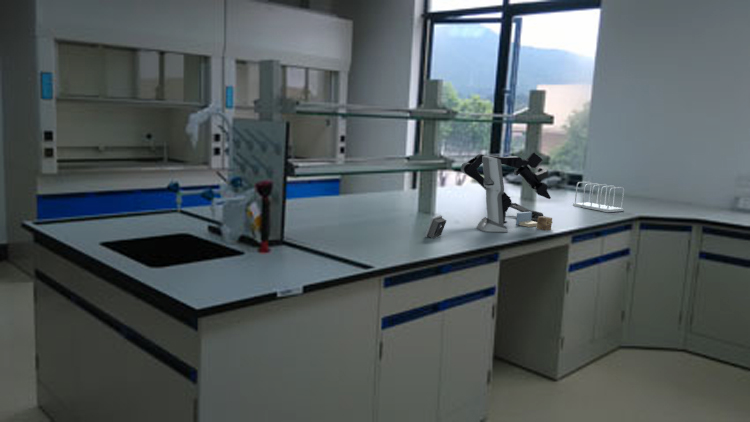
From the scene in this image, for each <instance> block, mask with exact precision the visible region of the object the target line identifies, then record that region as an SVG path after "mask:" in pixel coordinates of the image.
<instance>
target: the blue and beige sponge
mask: <svg viewBox="0 0 750 422" xmlns="http://www.w3.org/2000/svg"><path fill="white" fill-rule="evenodd" d="M531 217H532V212H516V221H515V225H516V226H523V227H527V228H531V227H537V222H534V221H531Z"/></svg>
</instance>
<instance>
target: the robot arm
mask: <svg viewBox="0 0 750 422" xmlns="http://www.w3.org/2000/svg"><path fill="white" fill-rule="evenodd" d="M482 156H489V157H493V158H497V159H500V160H501V165H505V166H507V167H511V168H514V173H513V175H514V176H519V175H520V178H522V179H523V180H524V181H525V182H526V184H527V185H528V186H529V187H530V188H531V189H532V190H534V192H535V193H536V194H537V195H538V196H541V197H543V198H545V199H549V200H550V199H552V198H551V196H550V194H549V192H548V189H549V186H548V185H547V184H546V183H545V182H543V180H544V179H546V178H549V177H550V174H549V171H548V170H547V168H542V167H538V166H539V165H541V163H542V162H543V159H542V157H540V156H539V155H538V154H537V153H535V152H533V151H532V152H531V153H530V154H529V155H528V157H526V158H522V157H521V156H515V155H511V156H510V155H509V156H496V155H487V154H483V153H479V154H476V155H475V157H473V158H471V159H469V160H468V161H466V162H462V164H461V166H460V171H461V173H463V174H465V175H466V176H467V177H469V178H471V179H473V180H474V182H476V183H477V184H478V185H480V187H482V188H483V189H484V190H485V191H486V187H484V183H483V182H484V176H483V175H482V174H481V173H480V172H479V171H478V168H479V167H480V166H481V165H483V161H482ZM537 167H538V168H537ZM536 168H537V171H536V172H534V171H532V170H531V169H536ZM512 203H513V202H512V199H511V196H508V194H507V193H506V192H505V191H504V193H503V194H502V210H503V224H506V223H508V221H507V220H506V215H507V212H508V210H509V208H511V207H510V206H511V204H512Z"/></svg>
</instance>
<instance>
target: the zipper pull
mask: <svg viewBox="0 0 750 422" xmlns="http://www.w3.org/2000/svg"><path fill="white" fill-rule="evenodd" d="M509 208H510V209H514V210H516V211H518V212H519V213H521V212H532V217H531V221H534V222H537V220H538V217H540V216H544V213H543V212H539V211H537V210H531V209H528V208H526V207H525V206H523V205H520V204H518V203H516V202H512V204H511V206H510V207H509Z"/></svg>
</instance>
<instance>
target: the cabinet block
mask: <svg viewBox="0 0 750 422" xmlns="http://www.w3.org/2000/svg"><path fill="white" fill-rule="evenodd" d="M552 224H553V217H550V216H544V215H543V216H540V217H538V220H537V226H536V229H537V230H541V231H551V230H552Z"/></svg>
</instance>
